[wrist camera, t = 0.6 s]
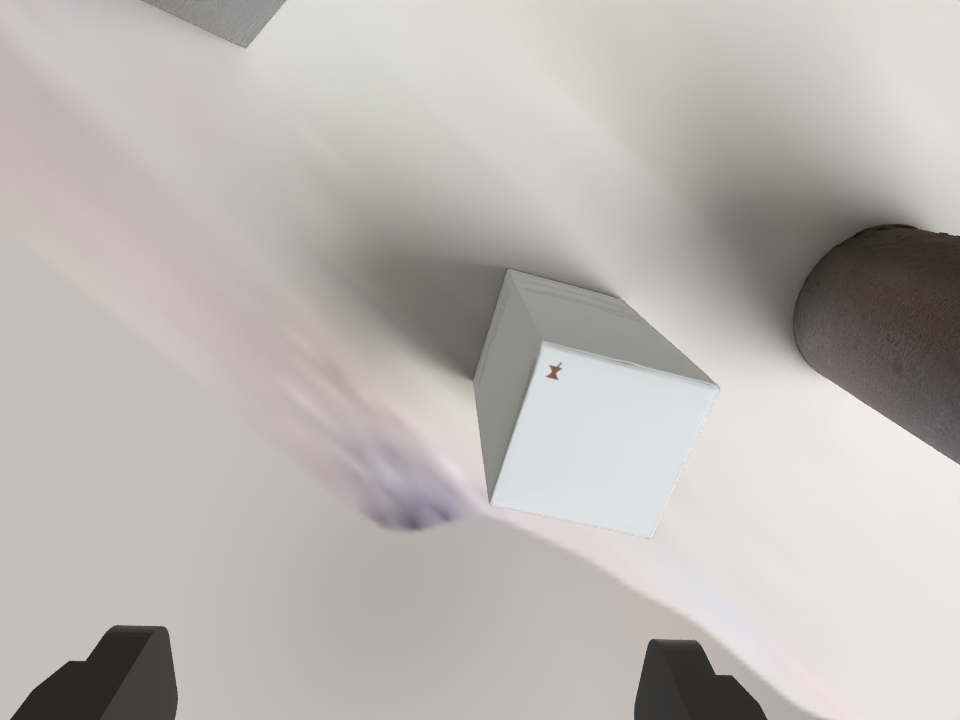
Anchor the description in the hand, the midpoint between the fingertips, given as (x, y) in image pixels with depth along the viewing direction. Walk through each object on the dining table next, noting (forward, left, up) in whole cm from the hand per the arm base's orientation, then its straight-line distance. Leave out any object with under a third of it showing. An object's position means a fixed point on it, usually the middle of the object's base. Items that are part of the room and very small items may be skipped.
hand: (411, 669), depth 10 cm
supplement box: (-3, +6, -25) cm, 26 cm away
